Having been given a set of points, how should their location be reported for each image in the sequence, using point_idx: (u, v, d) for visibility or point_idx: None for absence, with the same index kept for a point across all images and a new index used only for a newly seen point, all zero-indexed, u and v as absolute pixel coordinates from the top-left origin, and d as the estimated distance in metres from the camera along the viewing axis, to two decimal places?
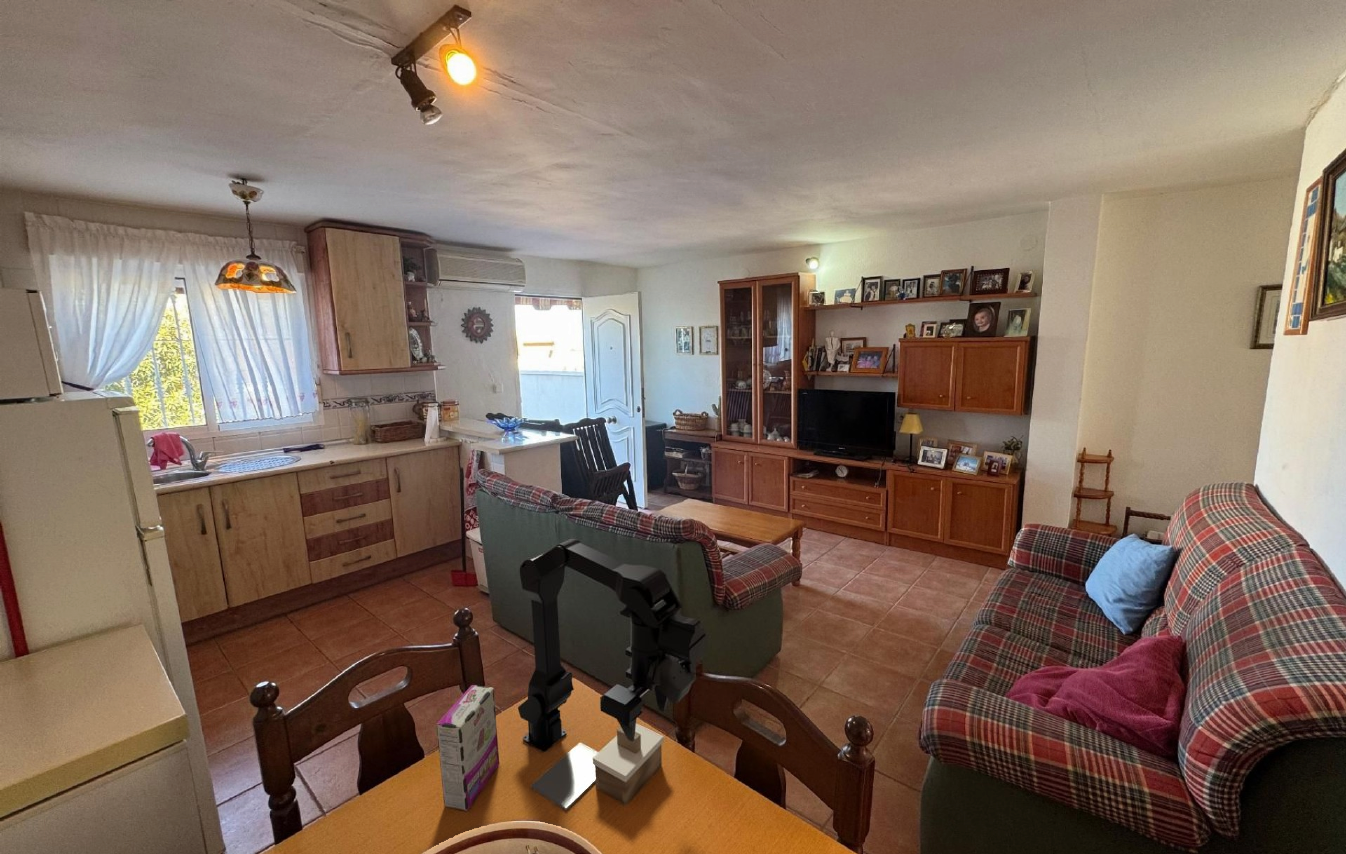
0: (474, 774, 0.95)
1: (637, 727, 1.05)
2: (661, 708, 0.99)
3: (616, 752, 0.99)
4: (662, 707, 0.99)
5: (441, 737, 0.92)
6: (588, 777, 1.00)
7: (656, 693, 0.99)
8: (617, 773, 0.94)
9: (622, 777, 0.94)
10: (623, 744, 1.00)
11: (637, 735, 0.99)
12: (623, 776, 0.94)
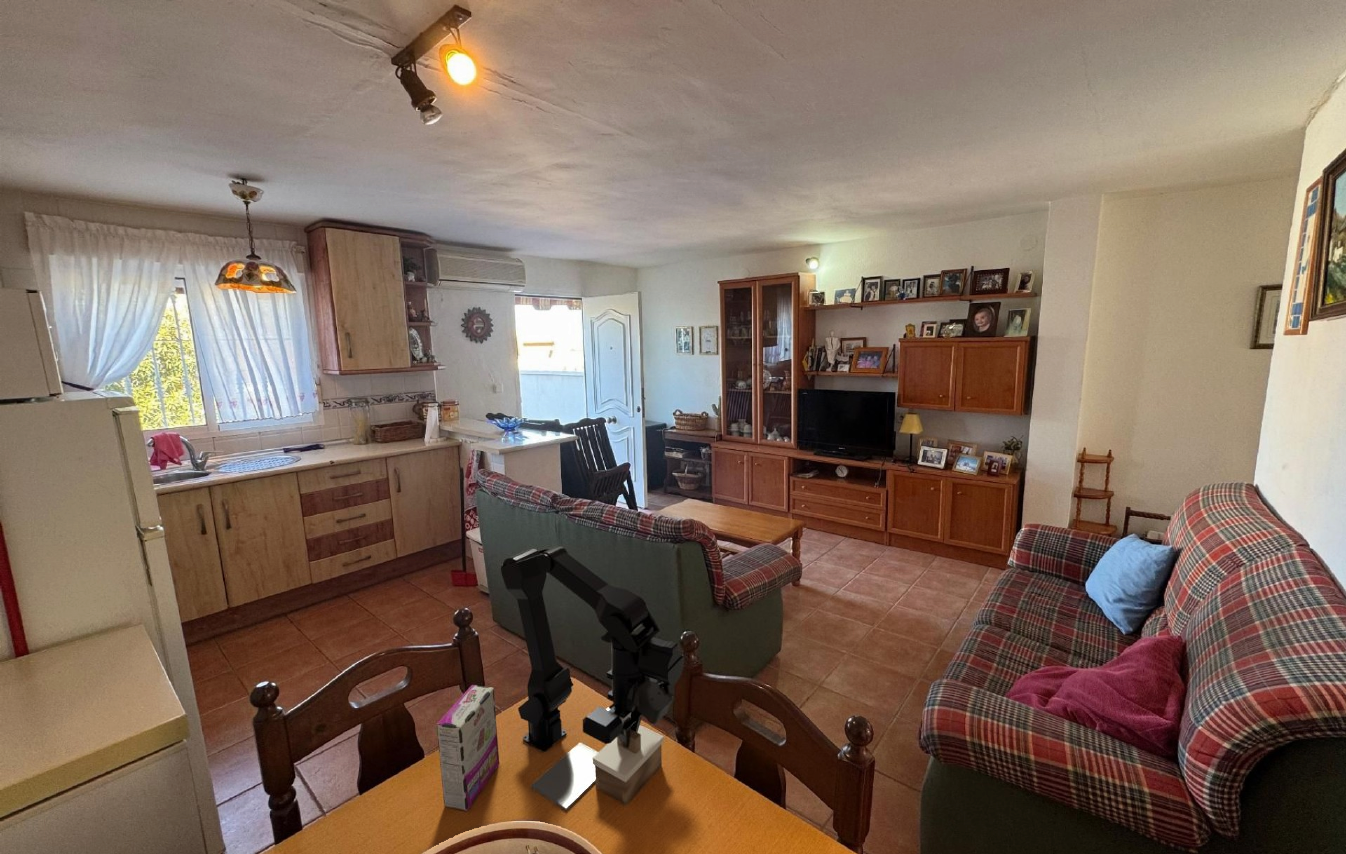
0: (474, 774, 0.95)
1: None
2: None
3: (616, 752, 0.99)
4: None
5: (441, 737, 0.92)
6: (588, 777, 1.00)
7: None
8: (617, 773, 0.94)
9: (622, 777, 0.94)
10: None
11: (637, 735, 0.99)
12: (623, 776, 0.94)
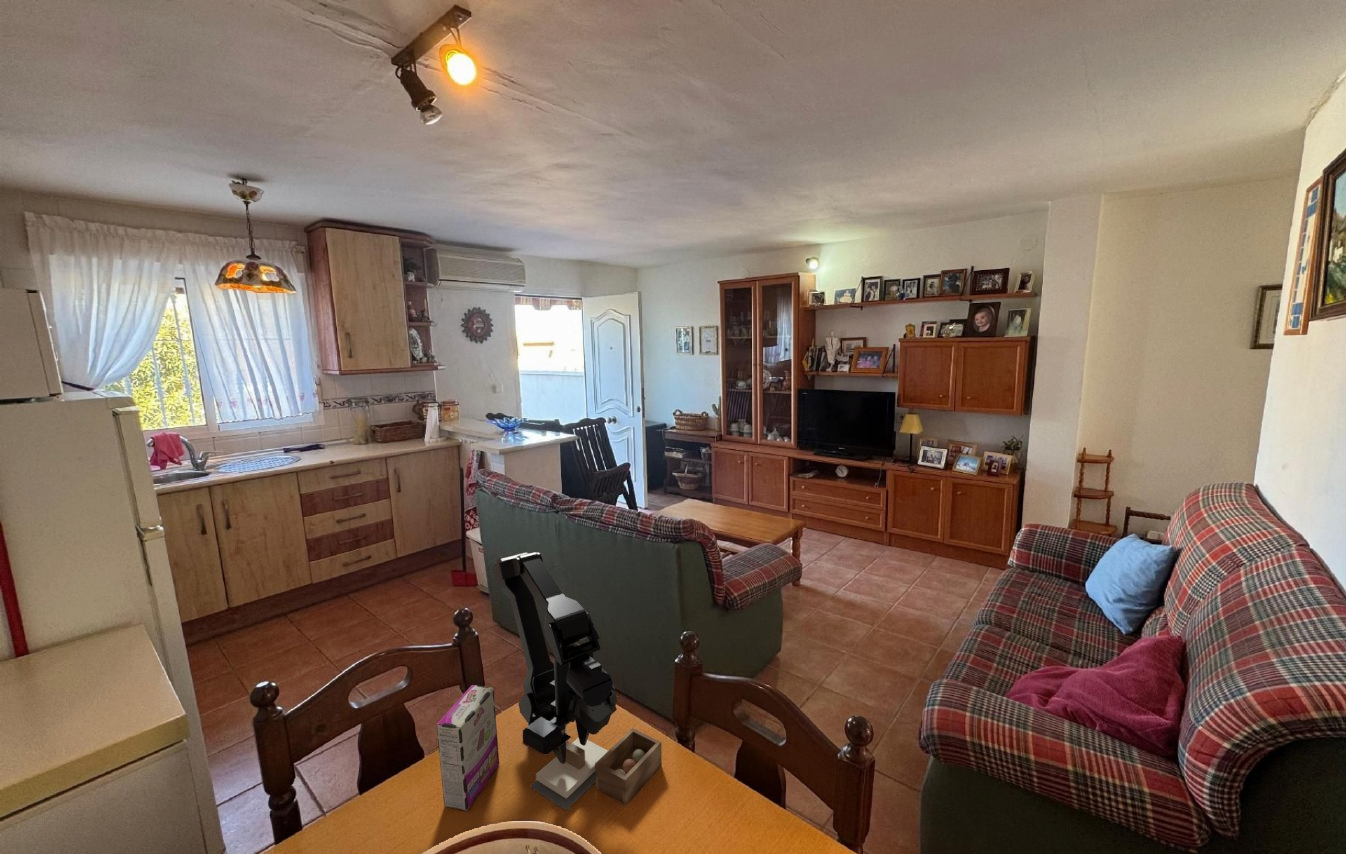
0: (474, 774, 0.95)
1: None
2: (582, 743, 1.03)
3: (560, 768, 1.00)
4: (583, 742, 1.03)
5: (441, 737, 0.92)
6: (588, 777, 1.00)
7: (577, 728, 1.03)
8: (558, 789, 0.95)
9: (563, 793, 0.95)
10: (568, 760, 1.01)
11: (581, 751, 1.00)
12: (564, 792, 0.94)
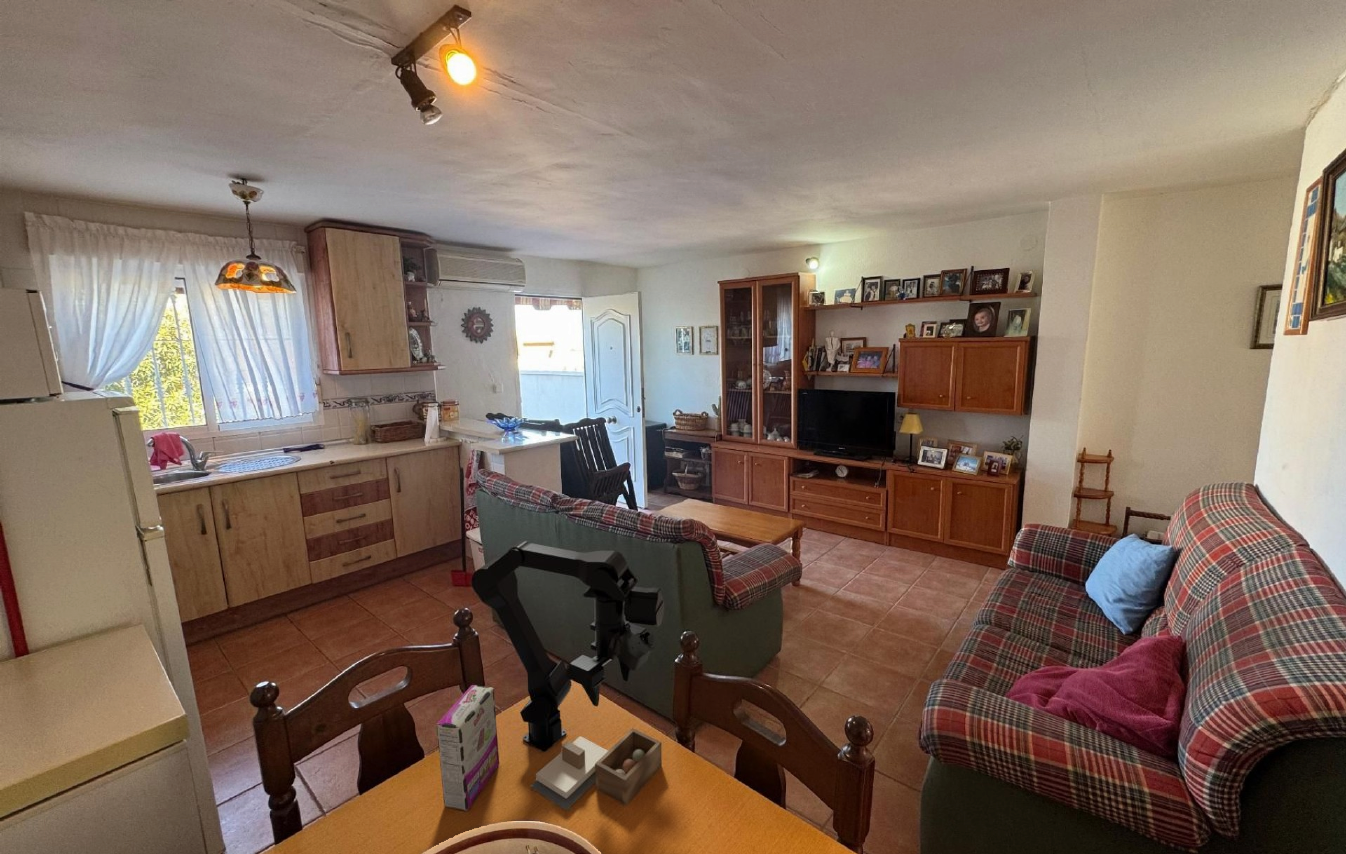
0: (474, 774, 0.95)
1: (584, 742, 1.06)
2: (625, 679, 1.09)
3: (560, 768, 1.00)
4: (626, 678, 1.09)
5: (441, 737, 0.92)
6: (588, 777, 1.00)
7: (621, 665, 1.10)
8: (558, 789, 0.95)
9: (563, 793, 0.95)
10: (568, 760, 1.01)
11: (581, 751, 1.00)
12: (564, 792, 0.94)
